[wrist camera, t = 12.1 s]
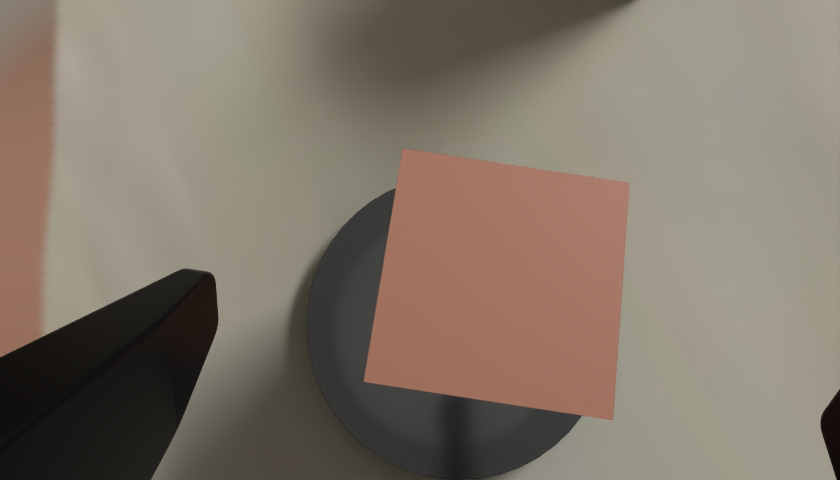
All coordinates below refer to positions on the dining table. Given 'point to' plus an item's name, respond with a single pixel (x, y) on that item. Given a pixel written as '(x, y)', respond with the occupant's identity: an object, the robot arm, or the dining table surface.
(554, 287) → the upright salmon prism
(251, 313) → the dining table surface
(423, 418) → the charcoal dinner plate
